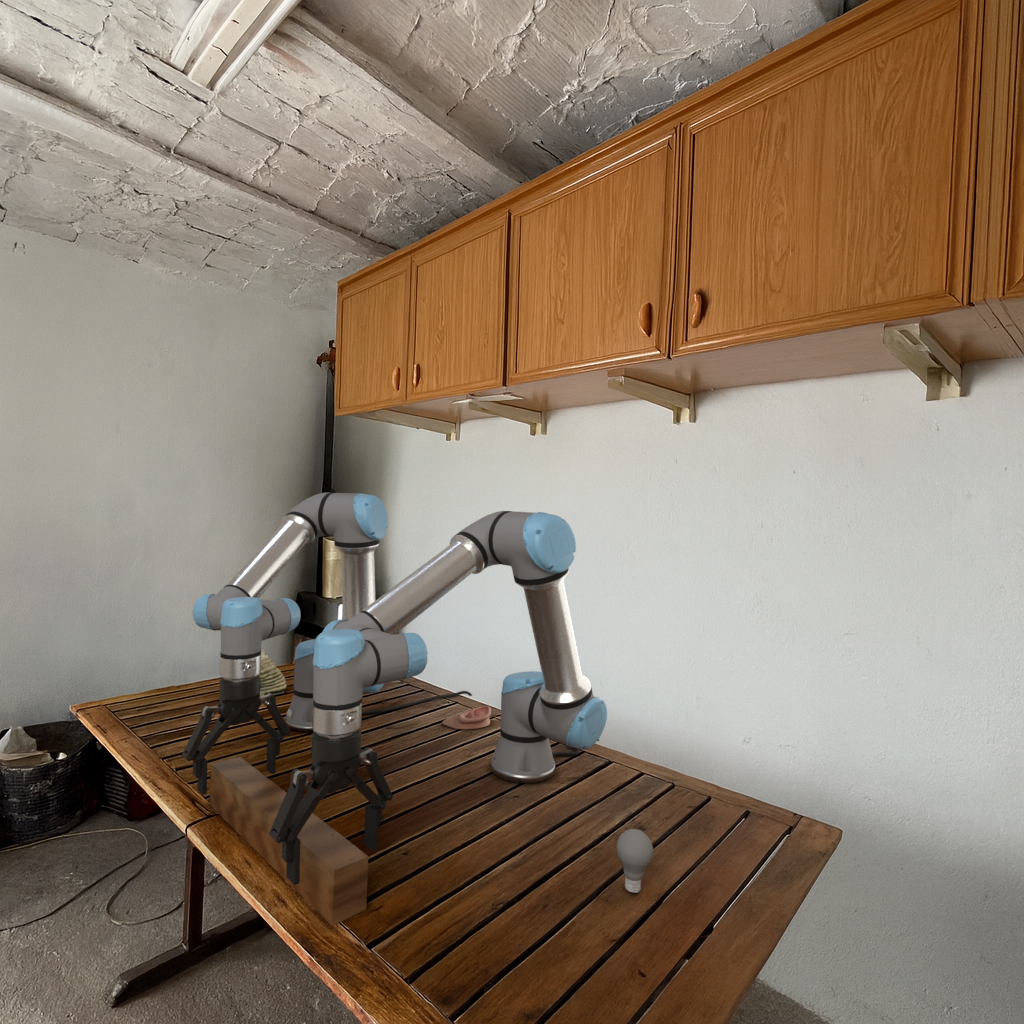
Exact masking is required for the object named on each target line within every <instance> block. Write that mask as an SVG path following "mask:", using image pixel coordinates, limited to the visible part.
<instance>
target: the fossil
mask: <svg viewBox="0 0 1024 1024" xmlns="http://www.w3.org/2000/svg"><path fill="white" fill-rule="evenodd" d="M259 676H260V677H261V684H260V697H262V696H265V694H266V693H267V692H269V693H271V694H273V695H274V696H276V695H281V694H284V693H285V691H286V689H287V687H288V686H287V680H286V678H285V676H284V674H283V673H282V672H281V669H279V668H278V667H277V665H276V663H275V662H274V660H273V659H272V658H271V657H270V656H269V655H268V654H267V653H266V652H265V650H264V649H263V648H261V672H260V674H259Z"/></svg>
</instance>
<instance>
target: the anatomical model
mask: <svg viewBox="0 0 1024 1024" xmlns="http://www.w3.org/2000/svg"><path fill="white" fill-rule="evenodd" d="M491 714H492V708H491V707H490V706H489V705H482V706H479V707H475V708H471V709H469V710H467V711H464V712H461V713H458V714H454V715H451V716H449V717H447V718H444V720H442V722H441V724H442V725H444V726H446V727H448V728H452V729H455V730H456V729H457V730H473V729H481V728H484V727H488V726H490V724H491V720H490V716H491Z"/></svg>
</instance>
